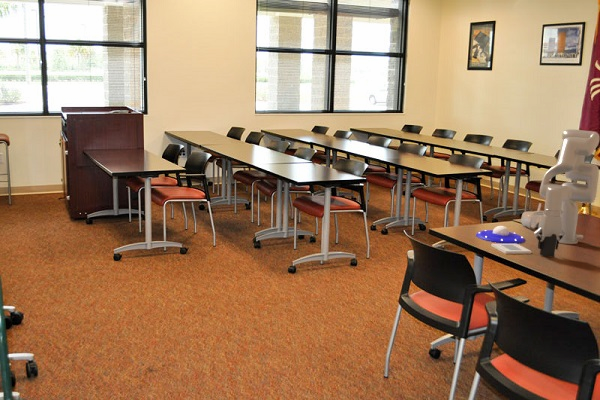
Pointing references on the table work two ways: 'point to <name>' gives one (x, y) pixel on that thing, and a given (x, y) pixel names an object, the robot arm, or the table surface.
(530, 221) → the vr headset
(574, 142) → the robot arm
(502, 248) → the plate
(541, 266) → the table surface
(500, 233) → the toy spaceship
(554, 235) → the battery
